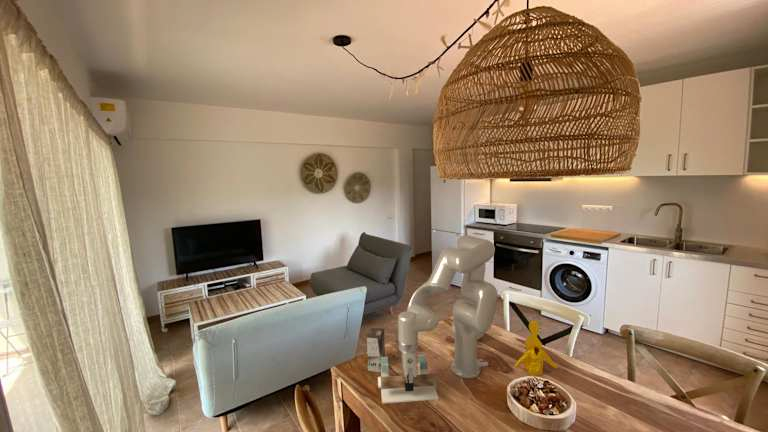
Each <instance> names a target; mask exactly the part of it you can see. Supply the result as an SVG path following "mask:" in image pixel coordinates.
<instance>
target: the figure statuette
mask: <svg viewBox="0 0 768 432" xmlns="http://www.w3.org/2000/svg"><path fill="white" fill-rule="evenodd" d="M528 329H529V330H528V331H529V332H530V333H529V334H530V335H529V336H528V337H527V338H526V339H525V342H524V345H525V346H524V347H525V352H524V353H523V355H522V356H521V357H519V359H518V360H517V361H516V362H515V364H514V367H515V368H517V367H519V366H520V365H521V364H523V367H524V368H525V369H526V371H527V373H528V375H531V376H541V375H543V374H544V371H543V369H544V361H546V363H548V364H549V365H550V366H551V367H552V368H553V369H558V368H559V367H558V365H557V364H556V363H555V362H554V361H553V360H552V358H551V357H550V356H549V355H548V354H547V353H546V352H545V350H543V343H542V342H541V340H540V338H538V334H539V332H540V326H539V323H538V321H537V320H536V319H534V320H532V319H531V320H530V321H529V323H528Z"/></svg>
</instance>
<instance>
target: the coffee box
mask: <svg viewBox="0 0 768 432" xmlns="http://www.w3.org/2000/svg"><path fill="white" fill-rule="evenodd" d="M385 342H386V339H385V328H383V327H382V328H379V327H371V328H370V331H369V332H368V334H367V337H366V346H367V347H366V348H367V349H366V350H367V353H366V354H367V371H368V372H375V373H381V357H386V348H385V347H386V345H385Z"/></svg>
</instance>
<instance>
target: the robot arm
mask: <svg viewBox="0 0 768 432" xmlns="http://www.w3.org/2000/svg"><path fill="white" fill-rule="evenodd" d="M456 246H457V248H455V247H445V248H444V249H442V250H441V252H440V254H439V257H438V258H437V261H436V263H435V265H434V268H433V270H432V272H431V274H430V276H429V278H428V280H427V281H426V282H424V283H423V284H422V285H420V286H419V287H418V288H417V289H416V290H415V291H414V292H413V294H412V296H411V299H410V300H409V302H408V305H407V309H406V310H405V311H402V312H400V313H399V314H398V316H397V323H398V324H397V331H398V332H397V334H398V336H397V341H398V343H397V345H398V350H399V351H400V353H401V365H402V370H403V376H405V377H406V381H405V391H413V390H414V388H413V375H414V377H417V374H418V365H417V362H418V359H417V351H418V349H419V333H421V332H430V331H433V330H435V329H436V328H437V327H438V325H439V321H440V320H439V317H438V315H437V314H436V313H435V312H433V311H432V310H431V309H428V308H427V307H426V306H425V303H426V301H427V300H428V299H429V297H430V296H431V295H433V294H435V293H439V292H446V291H448V290H449V289H450V287H451V285H452V282H453V280H454V278H455V275H456V273H457V272H458V273H460V274H462V275H463V276H462V280H461V285H460V293H461V295H462V296H463V297H464V298H467V299H468V300H466V299H459V300H457V301H455V303H454V304H453V306H452V311H451V313H452V318H453V321H454V326H455V333H454V360H453V361H452V362H451V364H450V370H451V372H452V373H453V374H454V375H456V376H458V377H460V378H463V379H474V378H477V377H478V376H479V375H480V374H481V368H482V367H489V364H488V361H484V360H483V358H479V359H478V339H477V332H479V333H484V334H485V333H487V332H489V330H490V329H491V327H492V324H493V322H494V321H493V320H494V317H495V312H496V308H497V303H498V297H499V295H498V290H497V287H495V285H494V284H493V283H490V282H488V281H485V276H486V275H485V273H486V263H488V262H489V261H491V259H492V258H494V255H495V251H496V247H495V244H494V243H493V242H492V241H491V240H488V239H485V238H480V237H477V236H473V235H467V234H464V235H463V234H462V235H461V236H458V238H457V241H456ZM471 301H472V302H471ZM473 302H474V303H473ZM407 377H409V379H407Z"/></svg>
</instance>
